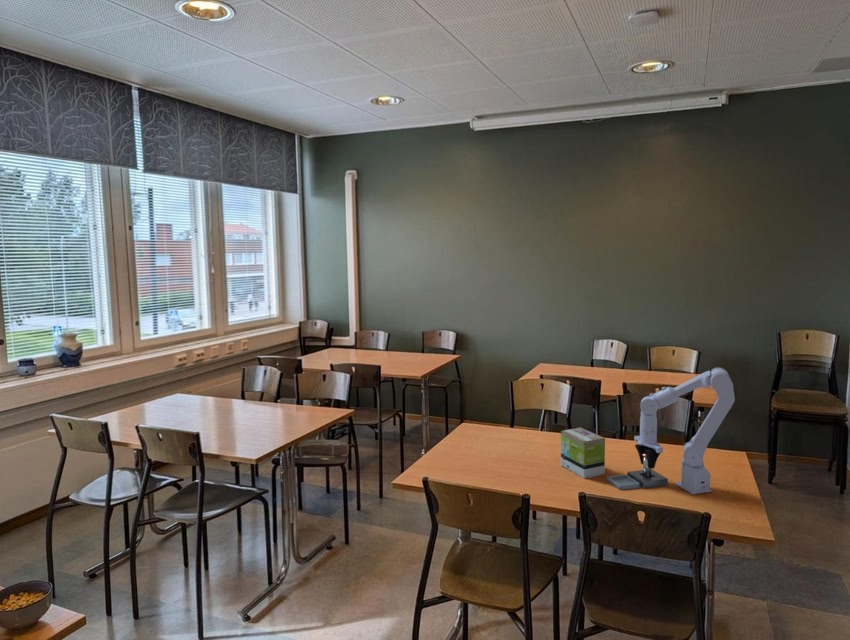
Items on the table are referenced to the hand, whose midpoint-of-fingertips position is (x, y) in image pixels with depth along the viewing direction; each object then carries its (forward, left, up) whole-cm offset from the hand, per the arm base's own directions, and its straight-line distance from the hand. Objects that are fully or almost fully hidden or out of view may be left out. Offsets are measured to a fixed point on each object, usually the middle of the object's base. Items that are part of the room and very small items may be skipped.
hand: (647, 465), depth 214 cm
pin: (0, 0, -3) cm, 3 cm away
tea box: (+17, +17, -6) cm, 25 cm away
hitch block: (0, 0, -6) cm, 6 cm away
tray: (+1, +10, -6) cm, 11 cm away
